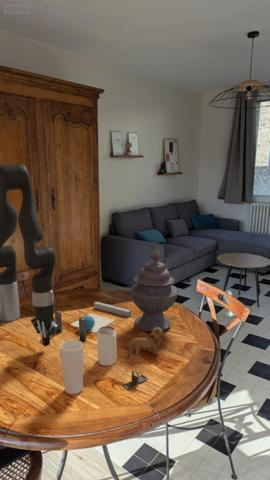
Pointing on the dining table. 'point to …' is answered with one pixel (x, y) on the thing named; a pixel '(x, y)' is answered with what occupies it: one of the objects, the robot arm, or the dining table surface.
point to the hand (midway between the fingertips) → (46, 345)
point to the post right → (82, 329)
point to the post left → (58, 321)
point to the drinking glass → (72, 365)
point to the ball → (89, 322)
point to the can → (106, 345)
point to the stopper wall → (112, 309)
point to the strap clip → (135, 380)
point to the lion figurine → (147, 342)
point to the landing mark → (96, 322)
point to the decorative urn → (153, 294)
